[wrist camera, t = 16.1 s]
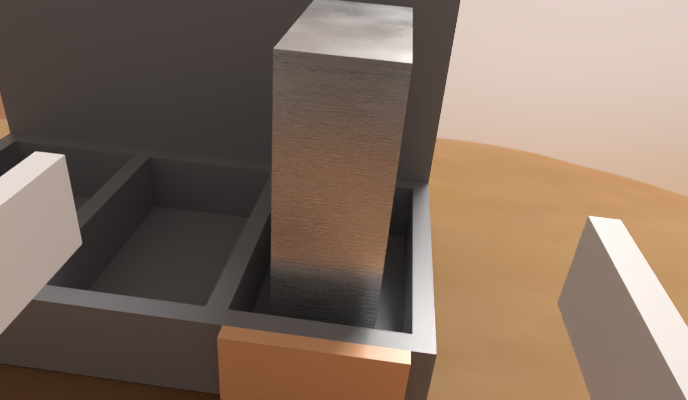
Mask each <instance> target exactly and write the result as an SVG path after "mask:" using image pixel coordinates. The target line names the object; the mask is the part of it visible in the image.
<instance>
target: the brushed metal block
mask: <svg viewBox="0 0 688 400" xmlns="http://www.w3.org/2000/svg"><path fill="white" fill-rule="evenodd" d="M412 59H413V8H410V7H400V6H390V5H380V4H371V3H361V2H351V1H341V0H314V1H313V2H312V3H311V4H310V5H309V6H308V8H307V9H306V10H305V11H304V12H303V14H302V15H301V16H300V17H299V18H298V20H297V21H296V22H295V23H294V24H293V26H292V27H291V28H290V29H289V30H288V32H287V33H286V34H285V35H284V36H283V37H282V39H281V40H280V41H279V42H278V43H277V45H276V46H275V47H274V48H273V109H272V194H271V280H270V315H273V316H281V317H288V318H296V319H303V320H311V321H318V322H325V323H333V324H340V325H348V326H355V327H363V328H370V329H375V325H376V318H377V311H378V304H379V297H380V290H381V283H382V276H383V269H384V262H385V255H386V247H387V240H388V233H389V226H390V219H391V212H392V205H393V198H394V191H395V184H396V177H397V170H398V162H399V155H400V148H401V141H402V134H403V127H404V120H405V113H406V106H407V99H408V92H409V85H410V78H411V70H412Z"/></svg>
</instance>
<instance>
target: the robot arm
mask: <svg viewBox="0 0 688 400" xmlns="http://www.w3.org/2000/svg"><path fill="white" fill-rule="evenodd" d="M81 245H82V239H81V234H80V229H79V224H78V219H77V214H76V209H75V204H74V199H73V194H72V189H71V184H70V179H69V174H68V169H67V164H66V159H65V155H63V154H54V153H46V152H37V151H35V152H34V153H33V154H31V155H30V156H29V157H27V158H26V159H24V160H23V161H22V162H20V163H19V164H17V165H16V166H15V167H13V168H12V169H11V170H9V171H8V172H6V173H5V174H4V175H2V176H1V177H0V334H1V333H2V332H3V331H4V330H5V329H6V328H7V327H8V325H9V324H10V323H11V322H12V321H13V320H14V319H15V318H16V317H17V316H18V314H19V313H20V312H21V311H22V310H23V309H24V308H25V307H26V306H27V304H28V303H29V302H30V301H31V300H32V299H33V298H34V297H35V296H36V294H37V293H38V292H39V291H40V290H41V289H42V288H43V287H44V286H45V285H46V283H47V282H48V281H49V280H50V279H51V278H52V277H53V276H54V275H55V273H56V272H57V271H58V270H59V269H60V268H61V267H62V266H63V265H64V263H65V262H66V261H67V260H68V259H69V258H70V257H71V256H72V255H73V254H74V252H75V251H76V250H77V249H78V248H79V247H80V246H81ZM558 306H559V309H560V312H561V314H562V317H563V320H564V323H565V326H566V329H567V332H568V334H569V337H570V340H571V343H572V346H573V349H574V352H575V354H576V357H577V360H578V363H579V366H580V369H581V371H582V374H583V377H584V380H585V383H586V386H587V389H588V391H589V394H590V397H591V400H688V327H687V326H686V324H685V322H684V321H683V319H682V317H681V316H680V314H679V313H678V311H677V309H676V308H675V306H674V305H673V303H672V301H671V300H670V298H669V297H668V295H667V293H666V292H665V290H664V289H663V287H662V285H661V284H660V282H659V281H658V279H657V277H656V276H655V274H654V273H653V271H652V269H651V268H650V266H649V265H648V263H647V261H646V260H645V258H644V257H643V255H642V253H641V252H640V250H639V249H638V247H637V245H636V244H635V242H634V241H633V239H632V237H631V236H630V234H629V233H628V231H627V229H626V228H625V226H624V225H623V223H622V221H621V220H619V219H610V218H602V217H593V216H588V218H587V221H586V224H585V227H584V230H583V233H582V235H581V238H580V241H579V244H578V247H577V249H576V252H575V255H574V258H573V261H572V264H571V266H570V269H569V272H568V275H567V278H566V281H565V283H564V286H563V289H562V292H561V295H560V297H559V300H558Z"/></svg>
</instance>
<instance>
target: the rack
mask: <svg viewBox="0 0 688 400" xmlns="http://www.w3.org/2000/svg"><path fill="white" fill-rule="evenodd" d="M313 1H314V0H0V93H1V97H2V101H3V105H4V109H5V112H6V117H7V121H8V125H9V129H10V134H8V135H7V136H5V137H4V138H2V139H0V177H1V176H2V175H4V174H5V173H6V172H8V171H9V170H11V169H12V168H13V167H15V166H16V165H17V164H19V163H20V162H22V161H23V160H24V159H26V158H27V157H29V156H30V155H31V154H33V153H34V152H35V151H37V152H46V153H54V154H63V155H65V159H66V164H67V169H68V174H69V179H70V184H71V189H72V194H73V199H74V204H75V209H76V214H77V219H78V224H79V229H80V234H81V239H82V245H81V246H80V247H79V248H78V249H77V250H76V251H75V252H74V254H73V255H72V256H71V257H70V258H69V259H68V260H67V261H66V262H65V263H64V265H63V266H62V267H61V268H60V269H59V270H58V271H57V272H56V273H55V275H54V276H53V277H52V278H51V279H50V280H49V281H48V282H47V283H46V285H45V286H44V287H43V288H42V289H41V290H40V291H39V292H38V293H37V294H36V296H35V297H34V298H33V299H32V300H31V301H30V302H29V303H28V304H27V306H26V307H25V308H24V309H23V310H22V311H21V312H20V313H19V314H18V316H17V317H16V318H15V319H14V320H13V321H12V322H11V323H10V324H9V325H8V327H7V328H6V329H5V330H4V331H3V332H2V333H1V334H0V363H2V364H9V365H16V366H23V367H30V368H37V369H44V370H51V371H58V372H65V373H72V374H79V375H86V376H92V377H99V378H106V379H113V380H120V381H127V382H134V383H141V384H148V385H155V386H162V387H169V388H176V389H183V390H190V391H197V392H204V393H211V394H218V395H220V400H426V399H427V395H428V390H429V386H430V381H431V377H432V372H433V368H434V363H435V359H436V355H437V354H436V333H435V313H434V292H433V271H432V250H431V229H430V208H429V188H428V182H429V176H430V170H431V165H432V159H433V153H434V148H435V142H436V136H437V130H438V125H439V119H440V113H441V108H442V102H443V96H444V90H445V85H446V79H447V73H448V67H449V61H450V56H451V51H452V45H453V39H454V33H455V28H456V22H457V16H458V11H459V5H460V0H341V1H351V2H361V3H371V4H380V5H390V6H400V7H410V8H413V59H412V70H411V78H410V85H409V92H408V99H407V106H406V113H405V120H404V127H403V134H402V141H401V148H400V155H399V162H398V170H397V177H396V184H395V191H394V198H393V205H392V212H391V219H390V226H389V233H388V240H387V247H386V255H385V262H384V269H383V276H382V283H381V290H380V297H379V304H378V311H377V318H376V325H375V329H370V328H363V327H355V326H348V325H340V324H333V323H325V322H318V321H311V320H303V319H296V318H288V317H281V316H273V315H270V280H271V194H272V109H273V48H274V47H275V46H276V45H277V43H278V42H279V41H280V40H281V39H282V37H283V36H284V35H285V34H286V33H287V32H288V30H289V29H290V28H291V27H292V26H293V24H294V23H295V22H296V21H297V20H298V18H299V17H300V16H301V15H302V14H303V12H304V11H305V10H306V9H307V8H308V6H309V5H310V4H311V3H312V2H313Z"/></svg>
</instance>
